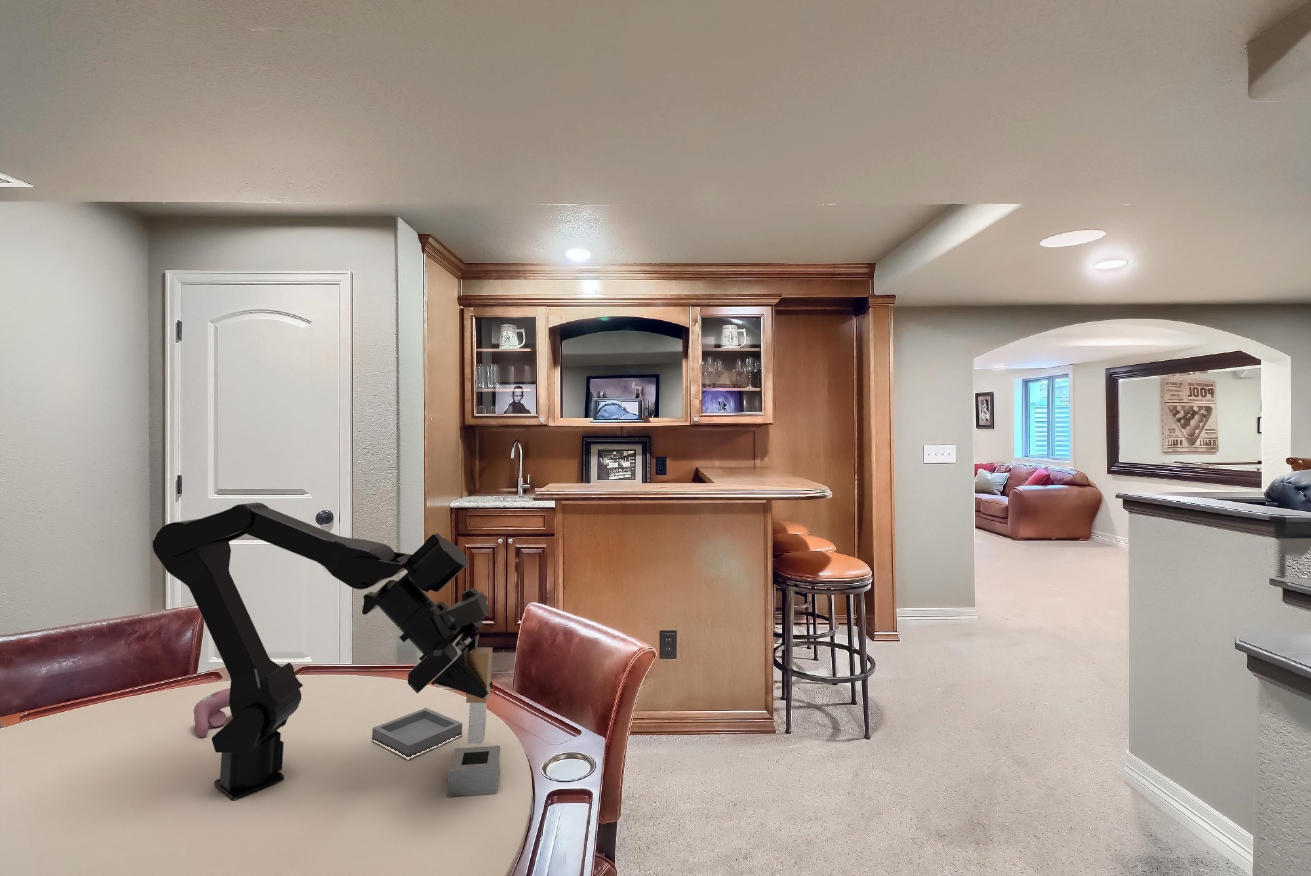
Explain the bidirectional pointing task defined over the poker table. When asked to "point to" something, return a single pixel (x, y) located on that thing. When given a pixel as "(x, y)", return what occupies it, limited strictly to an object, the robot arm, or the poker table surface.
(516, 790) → the poker table surface
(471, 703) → the wooden handled tool
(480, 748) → the block
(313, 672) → the poker table surface
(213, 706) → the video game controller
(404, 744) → the tool tray
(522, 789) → the poker table surface
